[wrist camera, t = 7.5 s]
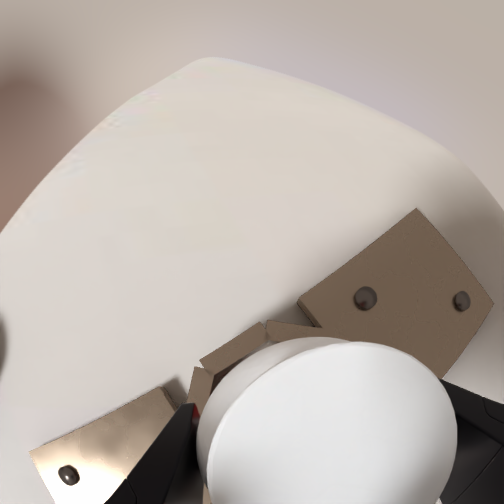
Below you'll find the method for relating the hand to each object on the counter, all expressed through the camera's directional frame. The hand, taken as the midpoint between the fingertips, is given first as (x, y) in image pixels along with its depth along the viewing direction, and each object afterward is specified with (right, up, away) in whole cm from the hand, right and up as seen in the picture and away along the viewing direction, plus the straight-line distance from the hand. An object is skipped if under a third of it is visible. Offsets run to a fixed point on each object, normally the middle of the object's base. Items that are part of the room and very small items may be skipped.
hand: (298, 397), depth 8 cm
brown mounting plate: (0, -5, +6) cm, 8 cm away
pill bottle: (0, -4, +5) cm, 7 cm away
